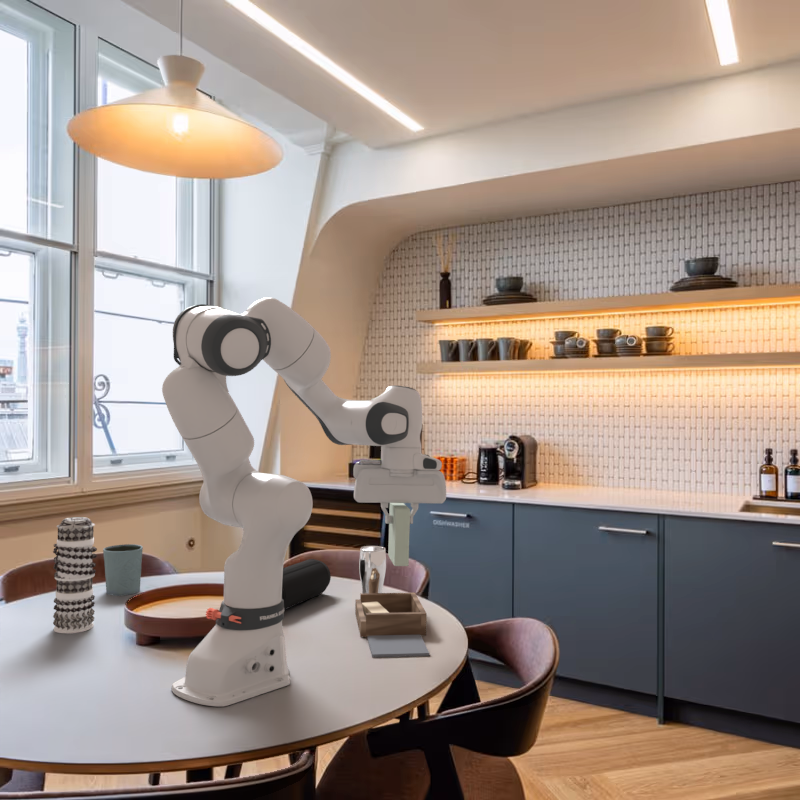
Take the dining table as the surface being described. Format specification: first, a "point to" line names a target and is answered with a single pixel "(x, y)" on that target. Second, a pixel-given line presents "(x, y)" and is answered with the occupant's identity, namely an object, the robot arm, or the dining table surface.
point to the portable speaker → (304, 581)
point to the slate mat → (397, 645)
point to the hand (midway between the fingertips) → (399, 523)
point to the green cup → (123, 569)
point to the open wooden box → (391, 615)
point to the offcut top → (373, 608)
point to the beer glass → (372, 568)
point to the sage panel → (399, 534)
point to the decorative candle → (74, 576)
